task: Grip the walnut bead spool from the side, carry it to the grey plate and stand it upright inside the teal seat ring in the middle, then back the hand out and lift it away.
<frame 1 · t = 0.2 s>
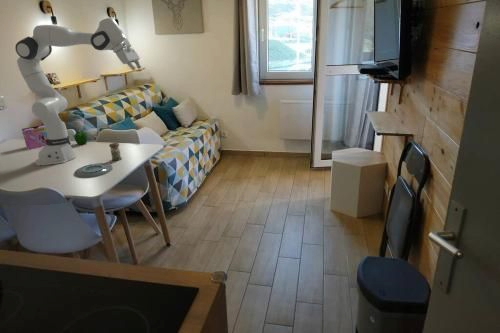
hand: (137, 69, 199), 53 cm above the table, tool tilted 25°, fingers open, 8 cm apart
grey plate: (93, 170, 200), on the table
bead spool: (116, 159, 216), on the table
green shrub: (82, 144, 250), on the table
gum box: (45, 144, 251), on the table
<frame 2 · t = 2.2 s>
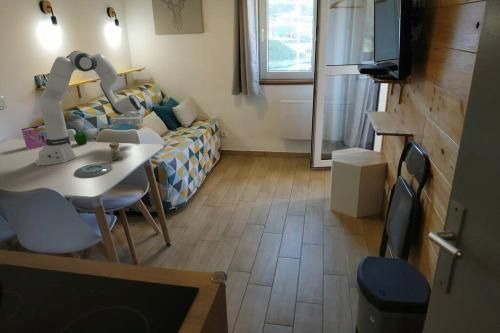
hand: (120, 123, 220), 20 cm above the table, tool horizontal, fingers open, 8 cm apart
nothing on the table moved.
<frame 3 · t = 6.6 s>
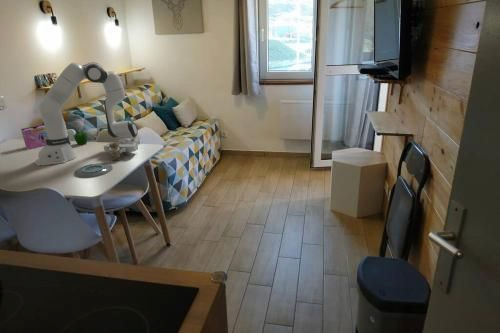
hand: (114, 151, 214), 6 cm above the table, tool horizontal, fingers closed on bead spool, 5 cm apart
bead spool: (116, 159, 216), on the table, touching gripper
everything else where it was.
when the fingers open (8 cm above the table, at t = 12.1 s): bead spool drops 1 cm, resting on grey plate.
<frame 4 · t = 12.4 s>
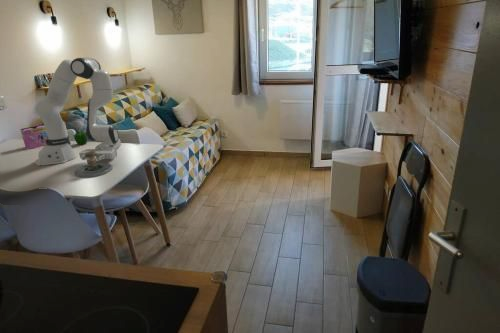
hand: (90, 158, 196), 8 cm above the table, tool horizontal, fingers open, 8 cm apart
bead spool: (93, 169, 200), point 1 cm above the table, touching grey plate
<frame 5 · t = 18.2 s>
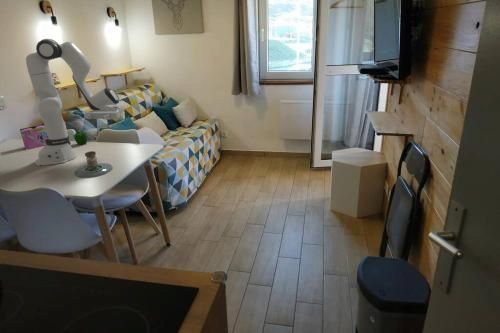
hand: (95, 117, 201), 28 cm above the table, tool horizontal, fingers open, 8 cm apart
at the end: bead spool 0.0 cm off-centre on the grey plate, point 0.8 cm above the grey plate's base; bead spool tilted 0°; the gripper is holding nothing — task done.
